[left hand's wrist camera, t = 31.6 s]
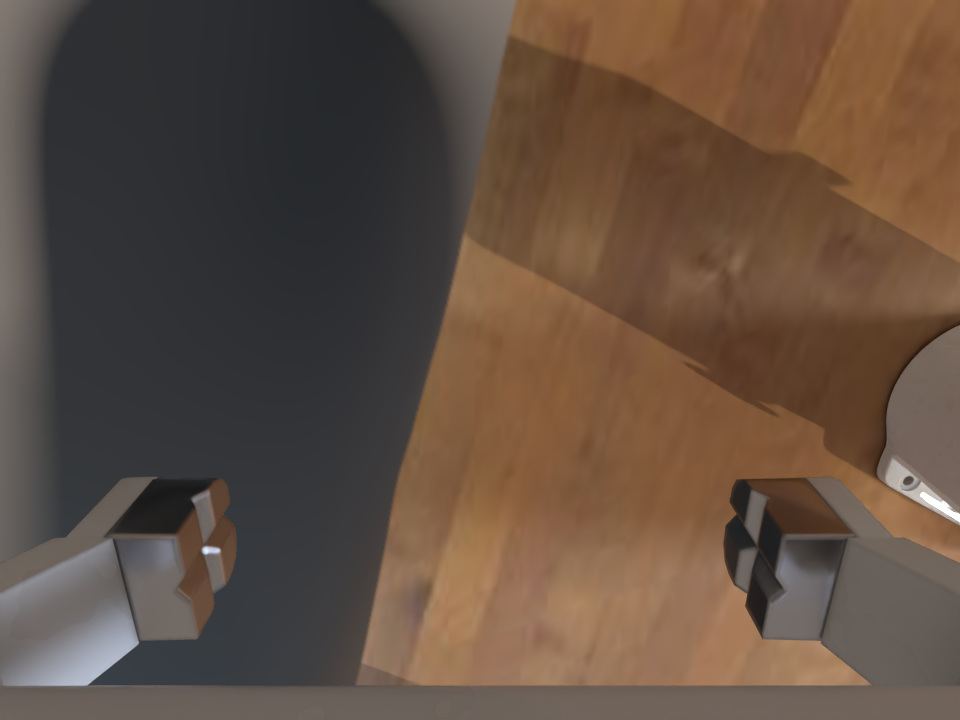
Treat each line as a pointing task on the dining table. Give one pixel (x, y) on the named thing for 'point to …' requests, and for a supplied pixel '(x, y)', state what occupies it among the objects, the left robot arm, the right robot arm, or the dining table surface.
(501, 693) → the left robot arm
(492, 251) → the dining table surface
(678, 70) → the dining table surface
